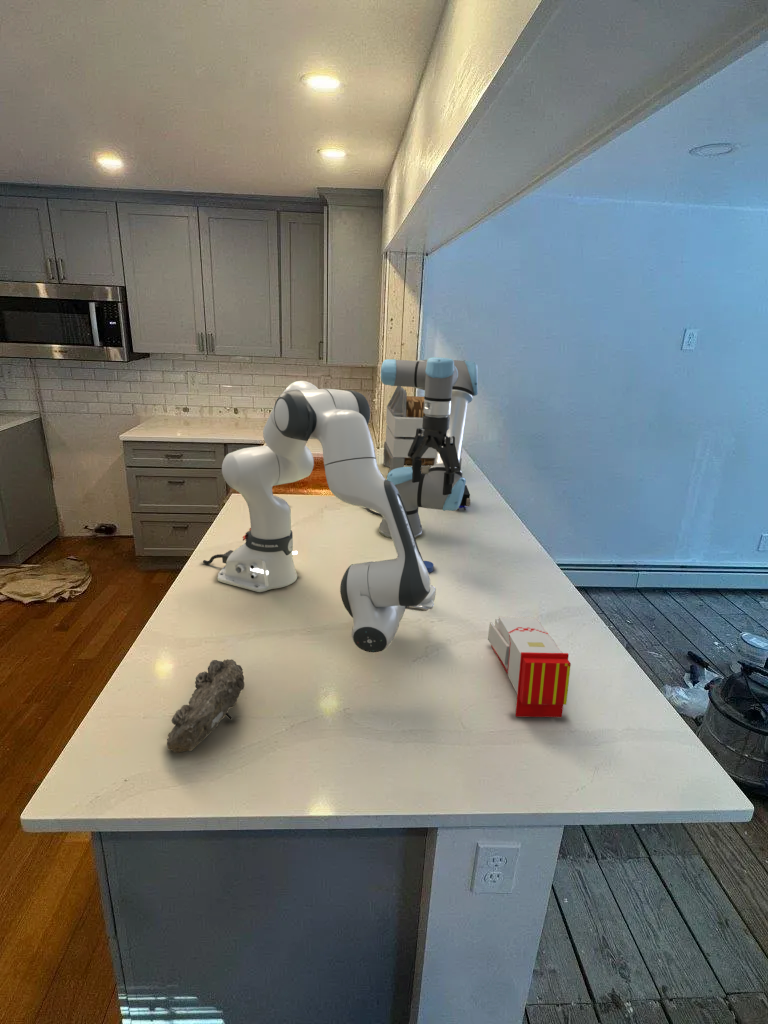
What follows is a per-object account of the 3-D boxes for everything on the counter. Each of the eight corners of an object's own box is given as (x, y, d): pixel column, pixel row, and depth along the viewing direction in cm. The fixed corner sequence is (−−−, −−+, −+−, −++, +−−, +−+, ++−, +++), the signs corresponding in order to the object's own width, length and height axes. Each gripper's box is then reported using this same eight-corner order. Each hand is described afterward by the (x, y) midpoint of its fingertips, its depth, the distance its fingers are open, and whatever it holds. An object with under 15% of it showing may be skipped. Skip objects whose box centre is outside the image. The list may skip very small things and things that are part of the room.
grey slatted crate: (382, 463, 289) (386, 382, 275) (445, 464, 293) (451, 384, 279) (390, 482, 257) (394, 392, 243) (460, 483, 261) (468, 394, 247)
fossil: (192, 660, 117) (244, 628, 112) (224, 691, 120) (276, 661, 115) (142, 746, 98) (202, 712, 93) (182, 779, 101) (242, 748, 96)
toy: (534, 602, 136) (579, 659, 107) (529, 653, 139) (572, 723, 110) (484, 601, 136) (516, 658, 107) (480, 652, 139) (510, 722, 109)
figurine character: (470, 515, 225) (465, 499, 238) (472, 498, 221) (467, 483, 235) (453, 515, 224) (449, 499, 238) (455, 497, 221) (451, 482, 234)
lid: (436, 568, 174) (436, 563, 174) (428, 574, 170) (428, 569, 170) (421, 564, 177) (421, 559, 177) (413, 569, 173) (413, 564, 172)
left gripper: (433, 598, 126) (441, 571, 138) (344, 584, 129) (360, 559, 142) (430, 623, 128) (439, 594, 140) (343, 608, 132) (359, 582, 144)
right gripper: (398, 408, 165) (394, 478, 172) (457, 424, 146) (451, 502, 154) (418, 407, 169) (413, 475, 177) (478, 422, 151) (470, 497, 158)
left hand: (398, 577), depth 141 cm, fingers open, 8 cm apart
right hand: (431, 488), depth 165 cm, fingers open, 13 cm apart
